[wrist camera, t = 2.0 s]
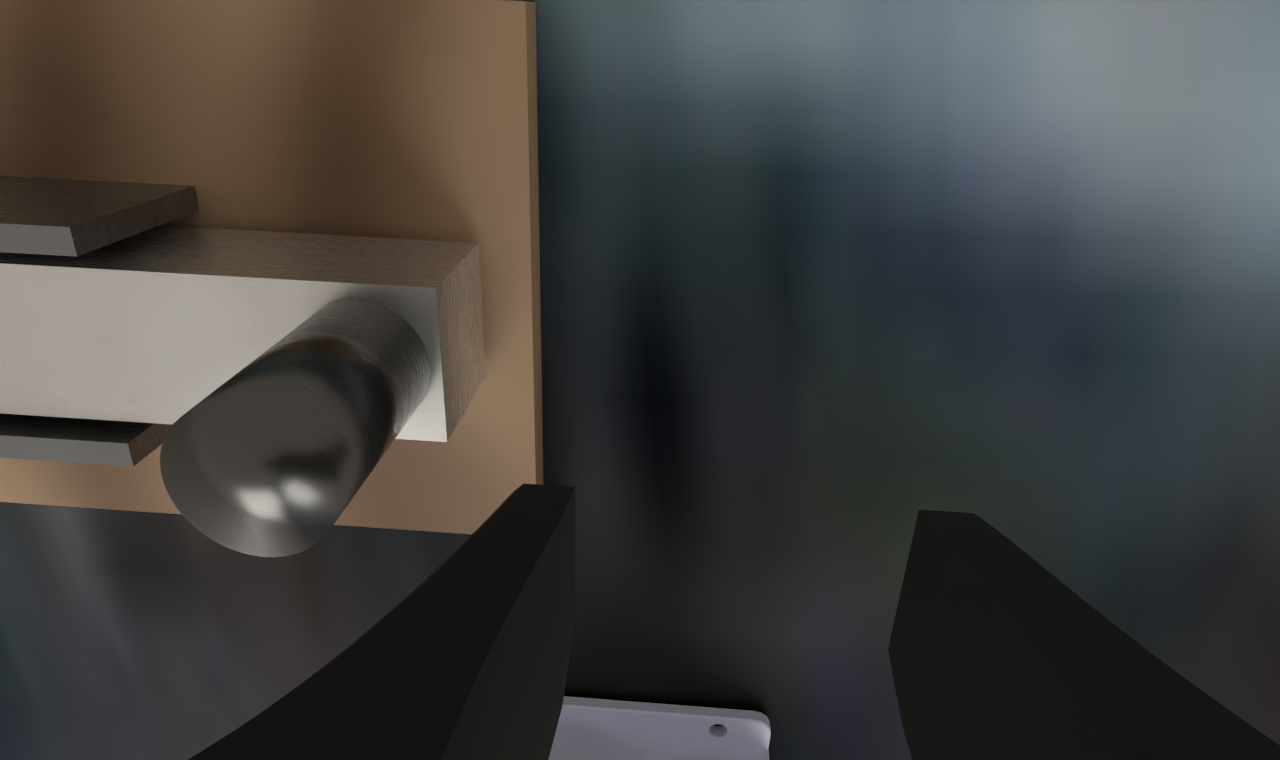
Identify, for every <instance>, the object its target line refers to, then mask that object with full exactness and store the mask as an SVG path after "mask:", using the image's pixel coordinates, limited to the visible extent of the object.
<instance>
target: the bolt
mask: <svg viewBox="0 0 1280 760" xmlns="http://www.w3.org/2000/svg"><path fill="white" fill-rule="evenodd" d="M485 377H486V366H485V345H484V325H483V304H482V283H481V263H480V243H476V242H458V241H439V240H420V239H402V238H383V237H365V236H346V235H327V234H309V233H290V232H272V231H253V230H234V229H216V228H197V227H179V226H160V225H158V226H156V227H153V228H151V229H148V230H145V231H143V232H140V233H138V234H135V235H132V236H130V237H127V238H125V239H122V240H119V241H117V242H114V243H112V244H109V245H106V246H104V247H101V248H98V249H96V250H93V251H91V252H88V253H85V254H83V255H80V256H78V257H76V256H58V255H40V254H22V253H4V252H0V413H2V414H18V415H33V416H49V417H64V418H80V419H95V420H111V421H126V422H142V423H157V424H173V425H172V426H171V428H170V429H169V430H168V432H167V434H166V436H165V438H164V440H163V444H162V447H161V453H160V469H161V475H162V479H163V482H164V485H165V488H166V490H167V492H168V494H169V496H170V498H171V500H172V501H173V503H174V505H175V506H176V508H177V509H178V510H179V511H180V513H181V514H182V515H183V516H184V517H185V518H186V520H187V521H188V522H189V523H190V524H191V525H193V526H194V527H195V528H196V529H197V530H199V531H200V532H201V533H202V534H204V535H205V536H207V537H208V538H210V539H211V540H213V541H215V542H217V543H219V544H220V545H223V546H225V547H227V548H229V549H232V550H235V551H238V552H241V553H244V554H249V555H253V556H261V557H282V556H289V555H293V554H297V553H300V552H302V551H305V550H307V549H309V548H311V547H313V546H314V545H316V544H317V543H318V542H320V541H321V540H322V539H323V538H324V537H325V536H326V535H327V534H328V532H329V531H330V529H331V528H332V527H333V525H334V524H335V522H336V521H337V520H338V518H339V517H340V515H341V514H342V513H343V511H344V510H345V508H346V507H347V506H348V504H349V503H350V501H351V500H352V499H353V497H354V496H355V494H356V493H357V492H358V490H359V489H360V487H361V486H362V485H363V483H364V482H365V480H366V479H367V478H368V476H369V475H370V473H371V472H372V471H373V469H374V468H375V466H376V465H377V464H378V462H379V461H380V459H381V458H382V457H383V455H384V454H385V452H386V451H387V450H388V448H389V447H390V445H391V444H392V443H393V441H394V440H395V439H406V440H421V441H437V442H448V440H449V438H450V437H451V435H452V433H453V432H454V430H455V428H456V426H457V425H458V423H459V421H460V420H461V418H462V416H463V414H464V413H465V411H466V409H467V408H468V406H469V404H470V402H471V401H472V399H473V397H474V396H475V394H476V392H477V390H478V389H479V387H480V385H481V384H482V382H483V380H484V379H485Z"/></svg>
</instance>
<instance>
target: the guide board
mask: <svg viewBox="0 0 1280 760" xmlns="http://www.w3.org/2000/svg"><path fill="white" fill-rule="evenodd" d="M0 176H17V177H36V178H55V179H75V180H94V181H114V182H133V183H152V184H172V185H191V186H195V189H196V194H197V200H198V205H199V210H198V211H195V212H192V213H190V214H187V215H185V216H182V217H179V218H177V219H174V220H172V221H169V222H166V223H164V224H161V225H160V226H179V227H197V228H216V229H234V230H253V231H272V232H290V233H309V234H327V235H346V236H365V237H383V238H402V239H420V240H439V241H458V242H476V243H480V263H481V283H482V304H483V325H484V345H485V366H486V377H485V379H484V380H483V382H482V384H481V385H480V387H479V389H478V390H477V392H476V394H475V396H474V397H473V399H472V401H471V402H470V404H469V406H468V408H467V409H466V411H465V413H464V414H463V416H462V418H461V420H460V421H459V423H458V425H457V426H456V428H455V430H454V432H453V433H452V435H451V437H450V438H449V440H448V442H437V441H421V440H406V439H395V440H394V441H393V443H392V444H391V445H390V447H389V448H388V450H387V451H386V452H385V454H384V455H383V457H382V458H381V459H380V461H379V462H378V464H377V465H376V466H375V468H374V469H373V471H372V472H371V473H370V475H369V476H368V478H367V479H366V480H365V482H364V483H363V485H362V486H361V487H360V489H359V490H358V492H357V493H356V494H355V496H354V497H353V499H352V500H351V501H350V503H349V504H348V506H347V507H346V508H345V510H344V511H343V513H342V514H341V515H340V517H339V518H338V520H337V521H336V522H335V524H334V525H344V526H358V527H373V528H387V529H402V530H416V531H431V532H445V533H460V534H473V533H474V532H475V531H476V530H477V529H478V528H479V527H480V526H481V525H482V524H483V523H484V522H485V521H486V520H487V519H488V518H489V517H490V516H491V515H492V513H493V512H494V511H495V510H496V509H497V508H498V507H499V506H500V505H501V504H502V503H503V502H504V501H505V500H506V499H507V498H508V497H509V496H510V495H511V494H512V493H513V492H514V491H515V490H516V489H517V488H518V487H520V486H521V485H522V484H538V485H543V429H542V367H541V304H540V241H539V179H538V116H537V53H536V2H528V1H507V0H0ZM161 447H162V444H161V445H160V446H159V447H158V448H156V449H155V450H154V451H153V452H151V453H150V454H149V455H148V456H146V457H145V458H144V459H143V460H141V461H140V462H139V463H138V464H136V465H135V466H134V467H132V466H117V465H102V464H87V463H72V462H57V461H42V460H27V459H12V458H0V502H12V503H26V504H40V505H55V506H69V507H84V508H98V509H113V510H127V511H142V512H156V513H171V514H181V513H180V511H179V510H178V509H177V508H176V506H175V505H174V503H173V501H172V500H171V498H170V496H169V494H168V492H167V490H166V488H165V485H164V482H163V479H162V475H161V469H160V453H161Z"/></svg>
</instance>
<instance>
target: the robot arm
mask: <svg viewBox="0 0 1280 760" xmlns="http://www.w3.org/2000/svg"><path fill="white" fill-rule="evenodd" d="M574 627H575V487H568V486H553V485H538V484H522V485H521V486H520V487H518V488H517V489H516V490H515V491H514V492H513V493H512V494H511V495H510V496H509V497H508V498H507V499H506V500H505V501H504V502H503V503H502V504H501V505H500V506H499V507H498V508H497V509H496V510H495V511H494V512H493V513H492V515H491V516H490V517H489V518H488V519H487V520H486V521H485V522H484V523H483V524H482V525H481V526H480V527H479V528H478V529H477V530H476V531H475V532H474V533H473V534H472V535H471V536H470V537H469V538H468V539H467V540H466V541H465V542H464V543H463V544H462V545H461V546H460V547H459V548H458V549H457V550H456V551H455V552H454V553H453V554H452V555H451V556H450V557H449V558H448V559H447V560H446V561H445V562H444V563H443V564H441V565H440V566H439V567H438V568H437V569H436V570H435V571H434V572H433V573H432V574H431V575H430V576H429V577H428V578H427V579H426V580H425V581H424V582H423V583H422V584H420V585H419V586H418V587H417V588H416V589H415V590H414V591H413V592H412V593H411V594H410V595H409V596H407V597H406V598H405V599H404V600H403V601H402V602H401V603H399V604H398V605H397V606H396V607H395V608H394V609H392V610H391V611H390V612H389V613H388V614H387V615H385V616H384V617H383V618H382V619H381V620H380V621H378V622H377V623H376V624H375V625H374V626H373V627H371V628H370V629H369V630H368V631H367V632H366V633H364V634H363V635H362V636H361V637H360V638H358V639H357V640H356V641H355V642H354V643H353V644H351V645H350V646H349V647H348V648H347V649H345V650H344V651H343V652H342V653H340V654H339V655H338V656H337V657H335V658H334V659H333V660H331V661H330V662H329V663H328V664H326V665H325V666H324V667H323V668H321V669H320V670H319V671H317V672H316V673H315V674H314V675H312V676H311V677H310V678H308V679H307V680H306V681H304V682H303V683H302V684H300V685H299V686H298V687H296V688H295V689H293V690H292V691H291V692H289V693H288V694H287V695H285V696H284V697H282V698H281V699H280V700H278V701H277V702H275V703H274V704H273V705H271V706H270V707H268V708H267V709H266V710H264V711H263V712H261V713H260V714H259V715H257V716H256V717H254V718H253V719H251V720H250V721H248V722H247V723H245V724H244V725H242V726H241V727H239V728H238V729H236V730H235V731H233V732H232V733H230V734H228V735H227V736H225V737H224V738H222V739H221V740H219V741H217V742H216V743H214V744H213V745H211V746H209V747H208V748H206V749H205V750H203V751H201V752H200V753H198V754H197V755H195V756H193V757H192V758H190V759H189V760H769V751H768V749H769V742H770V736H771V731H770V722H769V719H768V718H767V716H766V715H764V714H763V713H761V712H757V711H750V710H737V709H724V708H711V707H698V706H685V705H672V704H659V703H646V702H633V701H621V700H608V699H595V698H582V697H569V696H564V693H565V686H566V680H567V674H568V667H569V661H570V654H571V647H572V640H573V634H574ZM888 650H889V656H890V661H891V667H892V673H893V678H894V684H895V689H896V695H897V700H898V705H899V709H900V714H901V719H902V724H903V729H904V734H905V737H906V740H907V743H908V747H909V750H910V753H911V756H912V759H913V760H1280V745H1279V744H1277V743H1276V742H1274V741H1273V740H1271V739H1270V738H1268V737H1267V736H1265V735H1264V734H1262V733H1261V732H1259V731H1258V730H1256V729H1255V728H1254V727H1252V726H1251V725H1249V724H1248V723H1246V722H1245V721H1243V720H1242V719H1241V718H1239V717H1238V716H1236V715H1235V714H1234V713H1232V712H1231V711H1230V710H1228V709H1227V708H1225V707H1224V706H1223V705H1221V704H1220V703H1218V702H1217V701H1216V700H1214V699H1213V698H1212V697H1210V696H1209V695H1207V694H1206V693H1205V692H1203V691H1202V690H1200V689H1199V688H1198V687H1196V686H1195V685H1194V684H1192V683H1191V682H1189V681H1188V680H1187V679H1185V678H1184V677H1182V676H1181V675H1180V674H1178V673H1177V672H1176V671H1174V670H1173V669H1172V668H1170V667H1169V666H1168V665H1166V664H1165V663H1164V662H1162V661H1161V660H1160V659H1158V658H1157V657H1156V656H1154V655H1153V654H1152V653H1150V652H1149V651H1148V650H1146V649H1145V648H1144V647H1143V646H1141V645H1140V644H1139V643H1137V642H1136V641H1135V640H1133V639H1132V638H1131V637H1130V636H1128V635H1127V634H1126V633H1124V632H1123V631H1122V630H1121V629H1119V628H1118V627H1117V626H1116V625H1114V624H1113V623H1112V622H1110V621H1109V620H1108V619H1107V618H1105V617H1104V616H1103V615H1102V614H1100V613H1099V612H1098V611H1097V610H1095V609H1094V608H1093V607H1092V606H1090V605H1089V604H1088V603H1087V602H1085V601H1084V600H1083V599H1082V598H1080V597H1079V596H1078V595H1077V594H1075V593H1074V592H1073V591H1072V590H1070V589H1069V588H1068V587H1067V586H1066V585H1064V584H1063V583H1062V582H1061V581H1059V580H1058V579H1057V578H1056V577H1054V576H1053V575H1052V574H1051V573H1050V572H1048V571H1047V570H1046V569H1045V568H1043V567H1042V566H1041V565H1040V564H1039V563H1037V562H1036V561H1035V560H1034V559H1032V558H1031V557H1030V556H1029V555H1027V554H1026V553H1025V552H1024V551H1023V550H1021V549H1020V548H1019V547H1018V546H1016V545H1015V544H1014V543H1013V542H1011V541H1010V540H1009V539H1008V538H1006V537H1005V536H1004V535H1002V534H1001V533H1000V532H999V531H997V530H996V529H995V528H993V527H992V526H991V525H989V524H988V523H987V522H985V521H984V520H983V519H981V518H980V517H978V516H977V515H975V514H974V513H960V512H945V511H930V510H919V512H918V517H917V521H916V526H915V530H914V535H913V539H912V544H911V548H910V553H909V557H908V562H907V566H906V571H905V575H904V580H903V584H902V589H901V593H900V598H899V602H898V607H897V611H896V616H895V620H894V625H893V629H892V634H891V638H890V643H889V647H888ZM714 724H720V725H722V726H714Z"/></svg>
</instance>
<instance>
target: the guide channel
mask: <svg viewBox="0 0 1280 760" xmlns="http://www.w3.org/2000/svg"><path fill="white" fill-rule="evenodd" d="M198 210H199V205H198V200H197V194H196V189H195V186H191V185H172V184H152V183H133V182H114V181H94V180H75V179H55V178H36V177H17V176H0V252H4V253H22V254H40V255H58V256H76V257H78V256H80V255H83V254H85V253H88V252H91V251H93V250H96V249H98V248H101V247H104V246H106V245H109V244H112V243H114V242H117V241H119V240H122V239H125V238H127V237H130V236H132V235H135V234H138V233H140V232H143V231H145V230H148V229H151V228H153V227H156V226H158V225H161V224H164V223H166V222H169V221H172V220H174V219H177V218H179V217H182V216H185V215H187V214H190V213H192V212H195V211H198ZM172 425H173V424H157V423H142V422H126V421H111V420H95V419H80V418H64V417H49V416H33V415H18V414H2V413H0V458H12V459H27V460H42V461H57V462H72V463H87V464H102V465H117V466H132V467H134V466H135V465H136V464H138V463H139V462H140V461H141V460H143V459H144V458H145V457H146V456H148V455H149V454H150V453H151V452H153V451H154V450H155V449H156V448H158V447H159V446H160V445H161V444H163V440H164V438H165V436H166V434H167V432H168V430H169V429H170V428H171V426H172Z"/></svg>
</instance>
